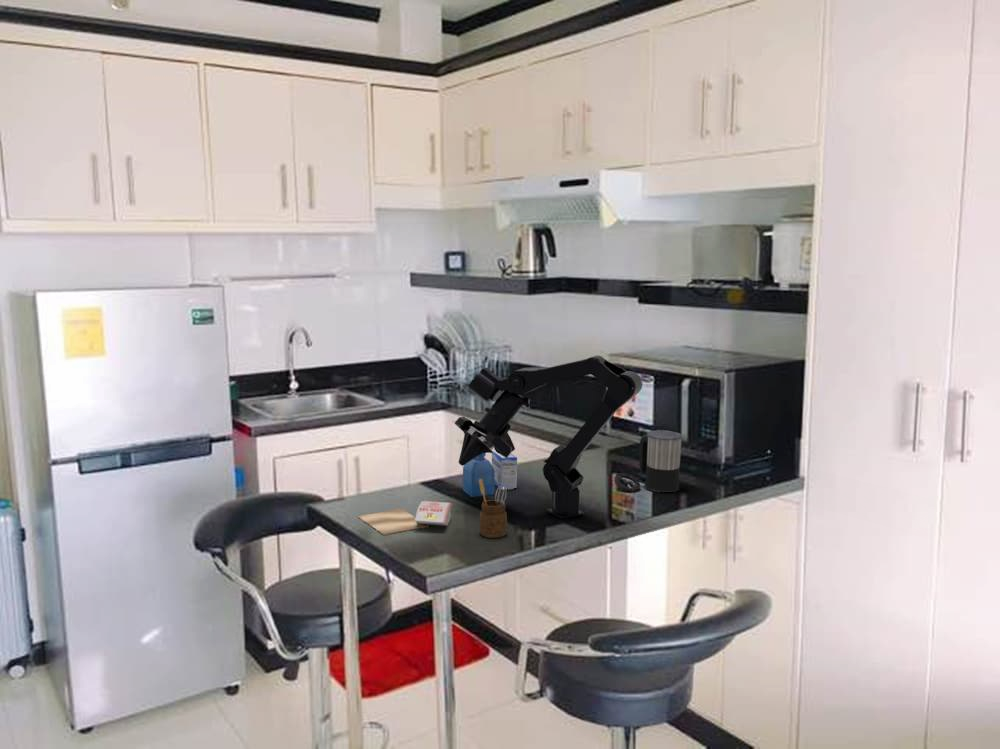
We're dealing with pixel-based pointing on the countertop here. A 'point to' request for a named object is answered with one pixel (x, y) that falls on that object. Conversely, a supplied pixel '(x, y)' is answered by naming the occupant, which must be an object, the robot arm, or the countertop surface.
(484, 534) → the utensil holder
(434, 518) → the small cardboard carton
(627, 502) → the countertop surface
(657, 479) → the milk frother
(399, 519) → the cork mat
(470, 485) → the perfume bottle
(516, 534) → the countertop surface
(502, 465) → the medicine box
